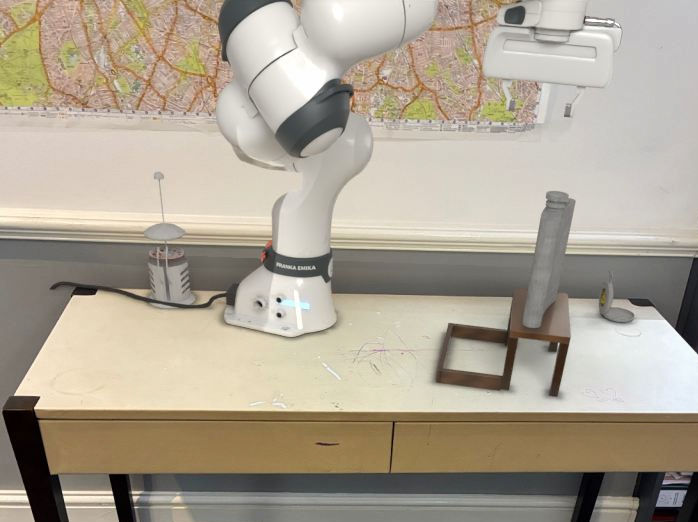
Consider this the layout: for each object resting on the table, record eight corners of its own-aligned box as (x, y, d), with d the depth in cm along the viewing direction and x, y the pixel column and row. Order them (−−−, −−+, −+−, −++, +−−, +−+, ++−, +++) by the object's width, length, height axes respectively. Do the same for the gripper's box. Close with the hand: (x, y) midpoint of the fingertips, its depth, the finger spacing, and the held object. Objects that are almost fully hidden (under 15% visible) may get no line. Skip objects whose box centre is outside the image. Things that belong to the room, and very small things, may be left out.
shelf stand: (435, 382, 139) (442, 323, 132) (447, 334, 155) (453, 279, 149) (557, 398, 136) (570, 338, 130) (556, 347, 153) (567, 292, 146)
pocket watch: (640, 320, 166) (652, 274, 160) (613, 328, 162) (625, 281, 156) (610, 306, 171) (621, 261, 165) (584, 313, 167) (594, 267, 161)
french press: (198, 290, 167) (187, 166, 152) (192, 312, 158) (180, 182, 143) (151, 289, 166) (135, 164, 151) (142, 311, 157) (125, 180, 142)
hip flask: (538, 329, 132) (562, 207, 120) (515, 324, 133) (536, 203, 121) (557, 297, 144) (580, 183, 132) (535, 293, 145) (556, 180, 133)
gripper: (625, 17, 120) (604, 116, 128) (492, 7, 123) (480, 104, 132) (625, 21, 115) (603, 124, 123) (487, 9, 118) (475, 110, 127)
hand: (539, 113), depth 128 cm, fingers open, 8 cm apart
